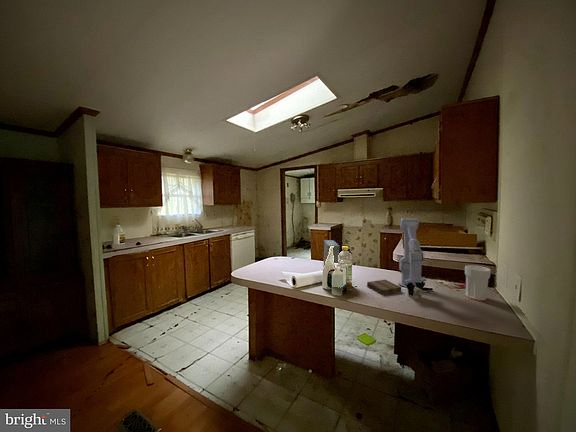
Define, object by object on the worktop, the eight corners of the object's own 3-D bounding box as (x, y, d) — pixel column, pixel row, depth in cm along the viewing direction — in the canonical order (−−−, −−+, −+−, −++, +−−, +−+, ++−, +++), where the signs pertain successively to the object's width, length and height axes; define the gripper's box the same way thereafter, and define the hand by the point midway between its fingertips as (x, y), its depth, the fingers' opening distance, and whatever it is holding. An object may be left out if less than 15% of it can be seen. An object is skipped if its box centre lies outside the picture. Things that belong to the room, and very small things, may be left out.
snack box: (339, 283, 156) (340, 245, 154) (326, 283, 156) (327, 245, 154) (334, 272, 177) (334, 239, 175) (322, 272, 178) (322, 239, 176)
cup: (458, 295, 135) (460, 266, 133) (470, 292, 139) (472, 264, 138) (480, 303, 124) (482, 272, 123) (493, 299, 129) (495, 269, 127)
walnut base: (384, 283, 154) (384, 279, 153) (401, 292, 140) (401, 287, 140) (367, 286, 149) (367, 282, 149) (382, 295, 136) (382, 290, 136)
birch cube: (414, 294, 136) (414, 286, 136) (421, 298, 132) (421, 289, 131) (407, 295, 135) (408, 287, 134) (414, 299, 130) (415, 290, 130)
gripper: (411, 275, 126) (410, 299, 127) (431, 272, 130) (430, 295, 132) (401, 271, 133) (400, 294, 134) (420, 268, 137) (419, 290, 138)
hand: (414, 294), depth 133 cm, fingers closed on birch cube, 5 cm apart
